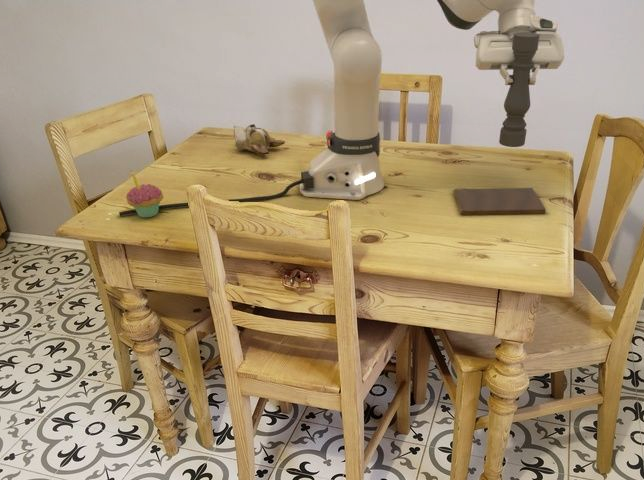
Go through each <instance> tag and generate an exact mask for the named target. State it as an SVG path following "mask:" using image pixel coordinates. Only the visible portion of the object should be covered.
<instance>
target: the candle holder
mask: <svg viewBox="0 0 644 480" xmlns="http://www.w3.org/2000/svg"><path fill="white" fill-rule="evenodd" d="M539 36H540V35H539V34H537V33H530V32H520V33H515V34H514V36H513V44H512V50H513V54H514V58H515V60H513V61H512V62H511V65H512V66H513V70H512V75H513V83H512V85H509V88H508V91H507V93H506V96H505V100H504V103H503V109H504V110H505V113H506V114H505V116H506V118H505V119H504V120H503V122H502V127H501V128H500V130H499V131H500V133H499V139H498V143H499V145H502V146H504V147H508V148H520V147H523V146H525V144H526V137H527V132H528V130H527V128H526V127H527V122H526V120H525V117H526V114H527V113H528V112H529V110H530V107H531V95H530V94H531V93H530V85H529V76H530V75H531V68H532V67H533V66H534V62H533V61H532V58H533V57H534V55H535V54H536V51H537V50H538V43H539Z"/></svg>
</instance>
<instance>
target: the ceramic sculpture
mask: <svg viewBox="0 0 644 480" xmlns="http://www.w3.org/2000/svg"><path fill="white" fill-rule="evenodd" d="M233 137H234V141H235V142H234V143H235V147H236V149H237V150H238V151H242V152H243V151H244V150H247V151H250V152H253V153H255V154H256V155H258V156H265V155H270V152H269V150H268V149H269V148H278V147H280V146H283V145H285V143H286V142H285V141H279V140H277V139H276V138H275V137H272V136H270V134H269V133H268V132H267V130H265V128H262V127H257V126H256V125H255V124H250V125H248V126H246V128H244V127H243V126H237V125H233Z"/></svg>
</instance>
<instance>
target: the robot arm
mask: <svg viewBox="0 0 644 480" xmlns="http://www.w3.org/2000/svg"><path fill="white" fill-rule="evenodd" d="M436 1H437V3H438V5H439V7H440V8H441V11H442V13H443V15H444V17H445V18H446V20H447V22H448V23H449V24H450V25H451V26H452V27H454V28H456V29H459V30H463V31H464V30H465V31H468V30H471V29H473V27H475V26H476V25H477V24H478V23H479V22H480V21H482V20H483V19H484V18H485V17H487V16H488V15H490V14H491V13H492V12H494V11H495V12H497V13H498V18H497V30H490V31H486V30H482V31H480V32H478V33H477V34H475V35H474V37H473V44H474V48H476V52H475V67H476V68H477V69H478V70H479V71H498V70H499V74H500V75H501V77H502V78H503V79H504V84H505V86H510V85H512V83H513V74H510V73H509V72H508V70H511V71H513V66H512V65H511V62H512V61H513V60H515V58H514V54H513V50H512V44H513V36H514V34H515V33H520V32H530V33H537V34H539V35H540V36H539V43H538V50H537V51H536V54H535V55H534V57H533V58H532V61H533V62H534V66H533V67H532V68H531V70H530V72H531V73H532V74H530V76H529V86H535V84H536V82H537V75H538V72H539V70H558V69H559V67H560V66H561V65H562V63H563V61H564V60H565V52H564V45H563V41H562V38H561V35H560V34H559V33H558V32H557V30H558V23H557V22H556V21H554V20H551V19H547V18H545V17H541V16H539V15H536V11H535V9H534V6H535V0H436ZM312 2H313V7H314V8H315V11H316V15H317V18H318V20H319V23H320V27H321V29H322V32H323V33H322V34H323V35H324V39H325V42H326V45H327V49H328V51H329V55H330V57H331V59H332V63H333V82H334V83H333V120H334V122H333V123H334V132H333V130H327V132H326V133H325V138H326V145H327V146H326V149H325V150H323V151H321V152H320V153H319V154H318V155H317V156H315V157H314V158H312V160H311V162H310V163H309V166H308V168H307V170H306V171H301V172H300V179H299V180H297V181H294V182H292V183H290V184H288V185H287V186H286V187H285V188H284V190H283V191H281V192H279V193H276V194H272V195H263V196H253V197H244V198H243V197H242V198H233V199H232V198H231V199H228V200H229V201H239V202H240V203H248V202H257V201H268V200H273V199H279V198H281V197H283V196H286V195H287V194H288V192H289V191H290V190H291V189H292V188H294V187H297V186H298V185H299V193H301V195H302V196H304V197H307V198H322V199H338V200H351V201H359V200H363V199H364V198H366V197H367V196H370V195H373V194H376V193H378V192H380V191H382V190H383V189H384V187H385V181H384V178H383V175H382V170H381V164H380V163H381V162H380V154H381V136H380V135H381V134H380V131H379V98H380V89H381V80H382V79H381V76H382V60H383V59H382V57H383V54H382V50H381V47H380V45H379V43H378V42H377V41H376V39H375V38H374V34H373V33H372V30H371V26H370V22H369V17H368V14H367V10H366V5H365V1H364V0H312ZM184 207H189V206H188V202H179V203H178V202H177V203H170V204H161V205H160V204H159V210H166V209H174V208H175V209H176V208H184ZM118 214H119V217H122V216H128V215H133V214H138V213H137V211H136V210H135V208H133V209H129V210H122V211H119V212H118Z"/></svg>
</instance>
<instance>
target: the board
mask: <svg viewBox="0 0 644 480" xmlns="http://www.w3.org/2000/svg"><path fill="white" fill-rule="evenodd" d="M453 194H454V197H455V201H456V203H457V207H458V209H459V212H460V215H461V216H488V215H489V216H491V215H493V216H494V215H495V216H496V215H500V216H501V215H545V214H546V208H545V206H544V204H543V203H542V201H541V200H540V198H539V196H538V195H537V193H536V190H535V189H534V188H533V187H514V188H513V187H511V188H510V187H505V188H503V187H502V188H501V187H500V188H455V189H454V190H453Z"/></svg>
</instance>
